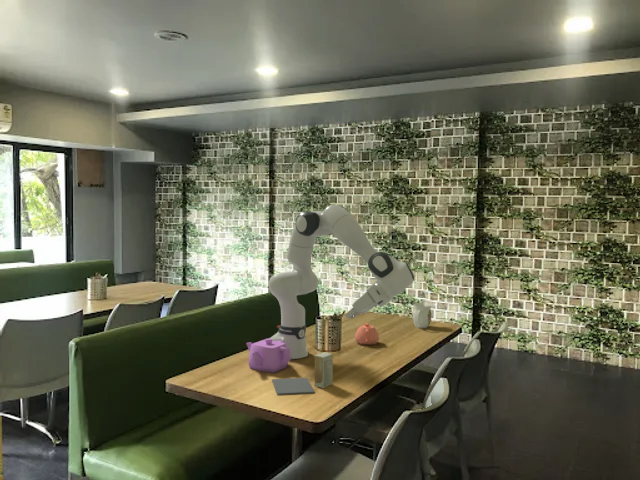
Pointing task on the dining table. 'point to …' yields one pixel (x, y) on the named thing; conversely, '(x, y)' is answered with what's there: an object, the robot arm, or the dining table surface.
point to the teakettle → (268, 355)
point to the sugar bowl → (367, 334)
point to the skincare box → (323, 369)
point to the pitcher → (421, 314)
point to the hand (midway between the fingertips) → (348, 317)
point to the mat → (292, 386)
